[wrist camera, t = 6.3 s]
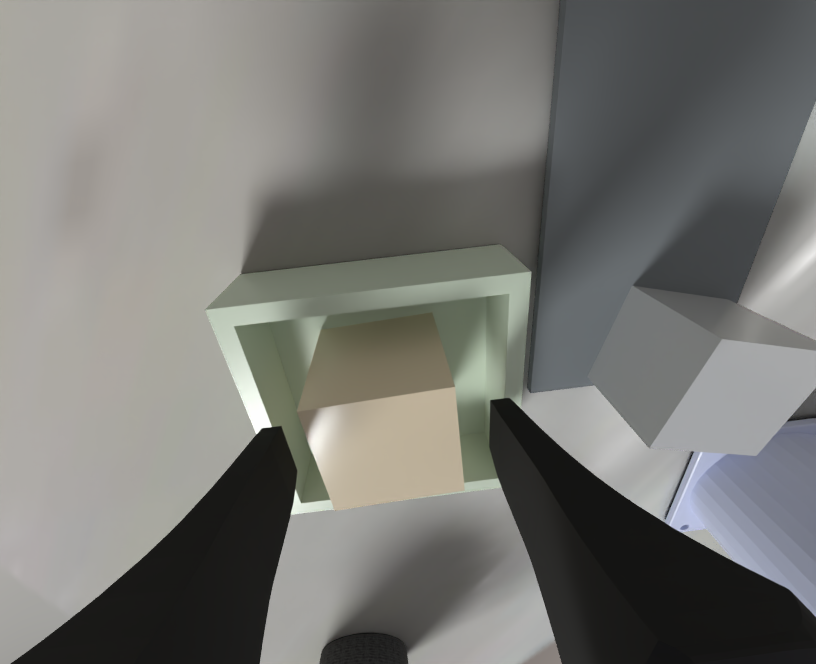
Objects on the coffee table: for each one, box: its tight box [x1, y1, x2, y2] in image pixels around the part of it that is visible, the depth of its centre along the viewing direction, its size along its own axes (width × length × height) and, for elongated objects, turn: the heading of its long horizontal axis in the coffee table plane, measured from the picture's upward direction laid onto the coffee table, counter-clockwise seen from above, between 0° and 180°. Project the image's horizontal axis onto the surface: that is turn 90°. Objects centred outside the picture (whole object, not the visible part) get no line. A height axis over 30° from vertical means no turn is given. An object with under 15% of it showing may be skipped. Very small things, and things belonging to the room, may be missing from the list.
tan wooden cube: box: [297, 312, 465, 511], centre depth 12 cm, size 4×4×4 cm
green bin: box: [205, 244, 531, 515], centre depth 14 cm, size 9×9×3 cm
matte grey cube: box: [587, 286, 816, 456], centre depth 13 cm, size 4×4×4 cm
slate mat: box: [527, 0, 816, 393], centre depth 12 cm, size 8×14×1 cm, turn 5°
